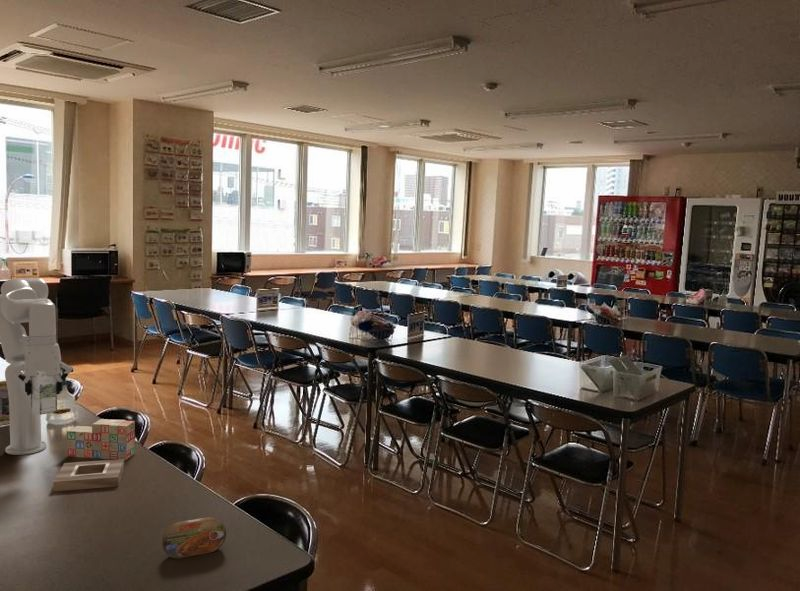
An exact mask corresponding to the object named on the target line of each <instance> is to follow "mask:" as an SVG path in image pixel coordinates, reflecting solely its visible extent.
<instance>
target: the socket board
mask: <svg viewBox="0 0 800 591" xmlns="http://www.w3.org/2000/svg"><path fill="white" fill-rule="evenodd" d="M124 471H125V460H124V459H117V460H114V459H104V460H103V459H102V460H92V461H77V462H64V463H63V465H62V466H61V467H60V469H59V471H58V473H57V474H56V476H55V478H54V480H53V482H52V486H53V488H52V490H53V492H64V491H76V490H87V489H89V490H90V489H101V488H102V489H103V488H114V487H119V486H120V483H121V479H122V476H123V473H124Z"/></svg>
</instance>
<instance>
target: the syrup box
mask: <svg viewBox="0 0 800 591" xmlns="http://www.w3.org/2000/svg"><path fill="white" fill-rule="evenodd" d="M56 383H57V379H56V378H55V376H46V374H45V371H38V370H37V376H36V377H31V411H32V412H34V413H36V414H39V415H46V414H52V413H56V412H58V394H57V393H56Z"/></svg>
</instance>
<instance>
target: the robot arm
mask: <svg viewBox="0 0 800 591" xmlns="http://www.w3.org/2000/svg"><path fill="white" fill-rule="evenodd" d="M48 296H49V287H48V284H47V282H46V281H45V280H44V279H42V278H40V277H24V278H23V277H22V278H19V277H18V278H17V277H16V278H11V279H8V280H5V281H4V282H3V283H2V284H1V287H0V345H1V349H2V353H3V355H4V359H5V360H6V361H7V363H8V364H9V365H7V367H6V368H5V370H4V378H5V384H6V388H7V392H8V409H9V412H8V413H9V416H8V417H9V436H10V437H9V438H10V440H9V441H10V442H9V443H10V444H9V445H8V446H6V447H5V453H6V454H8V455H13V456H24V455H30V454H34V453H38V452H42V451H43V450H45V449H46V448H47V442H45V441H44V440H42V418H41V417H42V416H41V415H39V414H36V413H34V412H32V411H31V377H36V376H37V370H38V371H45V374H46V376H55V378H56V379H57V383H56V393H57V395H60V394H61V393H62V391H63V389H64V388H63V387H64V386H63V384H64V383H63V382H64V380H65V379H66V378H68V376H69V374H70V373H71V372H72V371H73V368H72V366H69V365H68V364H67V363H65V362H63V361H62V355H61V349H60V345H59V343H57V321H56V319H57V318H56V314H57V313H56V305H55V303H53V301H52V300H51V299H49V298H48ZM22 323H28V331H29V332H28V334H29V335H27V331H26V329H25V327H24V326H23V325H22ZM63 370H65V372H64V373H63Z"/></svg>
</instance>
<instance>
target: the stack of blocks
mask: <svg viewBox="0 0 800 591" xmlns="http://www.w3.org/2000/svg"><path fill="white" fill-rule="evenodd" d="M135 424H136V421H135V420H126V419H108V418H107V419H106V418H105V419H104V418H100V419H98V420H97V421H95V422H93V423H92V424H91V425H92V426H88V425H87V426H86V425H85V426H84V425H83V426H81V425H76V426H74V427H72V428H71V429H68V430H67V431H66V440H67V444H66V445H67V447H66V448H67V457H69V458H70V457H71V458H86V459H101V460H103V459H104V460H117V459H124V461H127V460H129V459H130V458H132V457H133V456H134V455H135V454H136V453H135V452H136V450H135V449H136V445H135V444H136V443H135V442H136V437H135V436H136V429H135V428H136V426H135ZM128 458H129V459H128Z"/></svg>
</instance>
